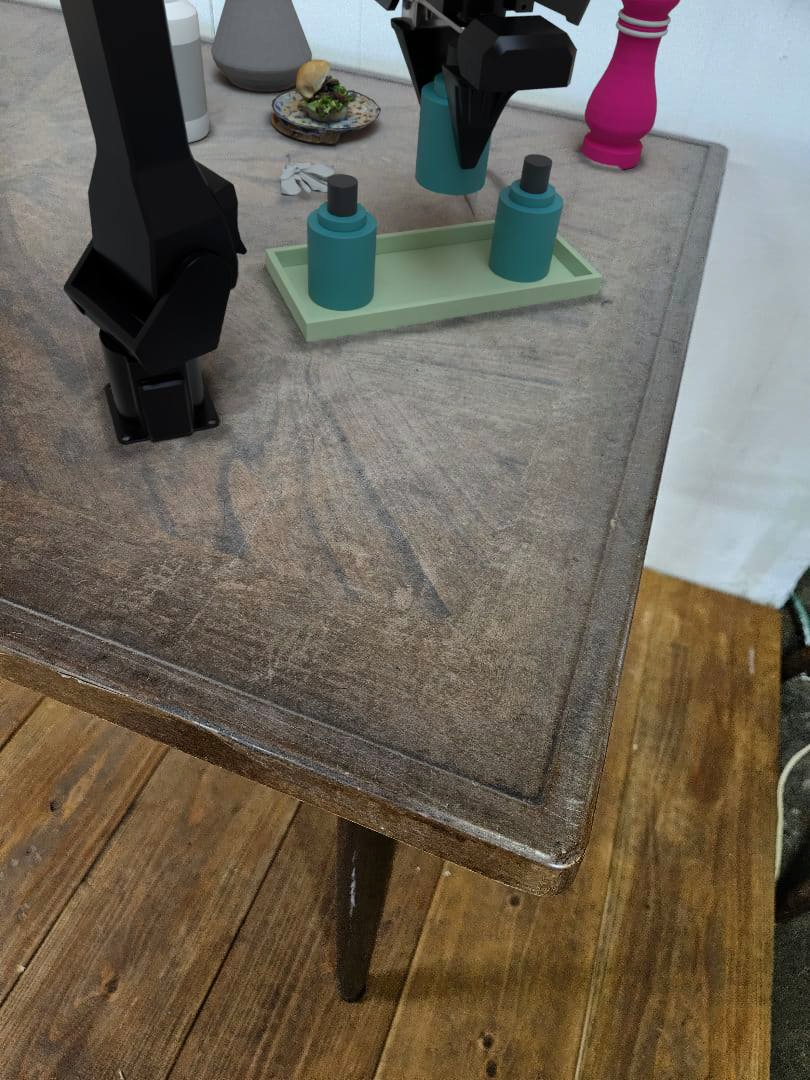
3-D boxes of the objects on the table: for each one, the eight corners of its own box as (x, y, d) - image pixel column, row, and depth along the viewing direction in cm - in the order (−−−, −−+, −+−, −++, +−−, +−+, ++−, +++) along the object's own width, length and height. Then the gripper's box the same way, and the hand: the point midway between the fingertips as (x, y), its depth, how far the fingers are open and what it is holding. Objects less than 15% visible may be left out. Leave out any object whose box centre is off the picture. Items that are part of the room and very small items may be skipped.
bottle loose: (404, 168, 62) (413, 33, 55) (466, 161, 63) (483, 29, 57) (431, 199, 59) (444, 59, 52) (496, 191, 60) (517, 55, 54)
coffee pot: (310, 64, 102) (308, -85, 91) (314, 100, 94) (312, -60, 83) (132, 58, 99) (107, -97, 88) (120, 94, 91) (92, -72, 80)
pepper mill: (562, 151, 89) (608, -76, 74) (608, 139, 92) (661, -81, 77) (610, 177, 85) (669, -56, 70) (656, 163, 88) (722, -62, 74)
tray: (266, 271, 68) (264, 248, 66) (534, 234, 75) (538, 213, 74) (306, 346, 61) (306, 323, 60) (597, 298, 69) (603, 276, 67)
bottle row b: (300, 281, 66) (296, 168, 60) (360, 272, 68) (364, 162, 61) (320, 315, 63) (319, 200, 57) (383, 305, 65) (389, 192, 58)
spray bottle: (179, 151, 82) (150, -69, 69) (128, 132, 84) (91, -84, 71) (223, 130, 86) (205, -80, 73) (173, 113, 89) (147, -95, 75)
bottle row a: (478, 255, 71) (493, 149, 65) (531, 248, 73) (551, 143, 66) (505, 286, 68) (524, 177, 61) (559, 278, 70) (584, 170, 63)
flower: (369, 197, 81) (374, 170, 78) (319, 226, 76) (323, 199, 74) (309, 161, 82) (312, 135, 80) (256, 188, 77) (258, 160, 75)
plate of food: (346, 155, 84) (347, 76, 79) (249, 127, 87) (244, 49, 82) (399, 119, 92) (404, 44, 86) (308, 94, 95) (307, 20, 89)
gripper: (687, -83, 45) (614, 198, 56) (529, -148, 56) (495, 97, 68) (505, -83, 41) (466, 216, 53) (376, -152, 53) (367, 106, 64)
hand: (451, 152), depth 60 cm, fingers closed on bottle loose, 5 cm apart
